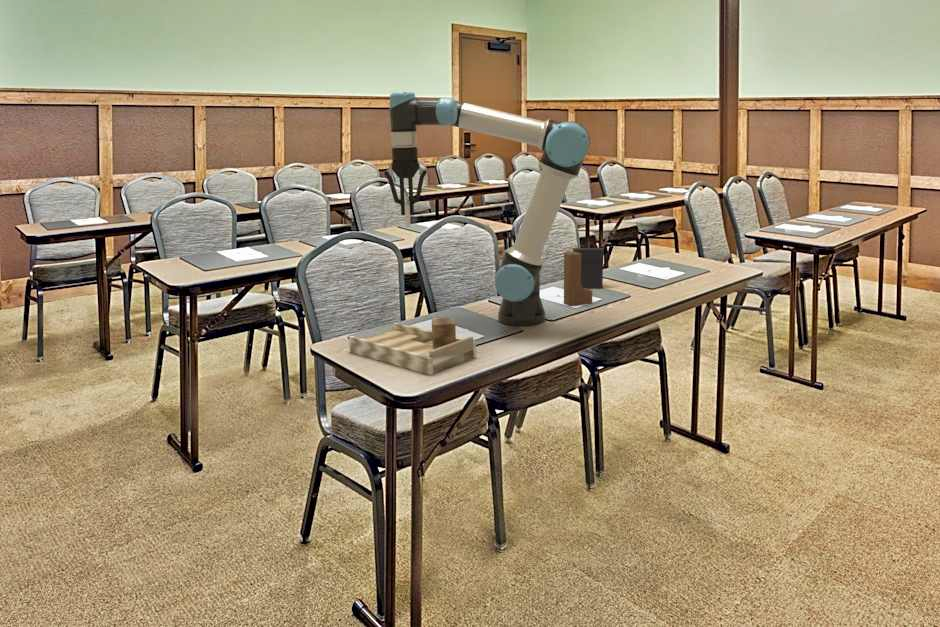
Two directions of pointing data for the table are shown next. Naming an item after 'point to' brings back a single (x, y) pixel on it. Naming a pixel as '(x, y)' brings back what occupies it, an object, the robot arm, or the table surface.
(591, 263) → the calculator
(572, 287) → the wooden block
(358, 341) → the box
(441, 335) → the walnut block
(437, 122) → the robot arm
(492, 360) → the table surface
